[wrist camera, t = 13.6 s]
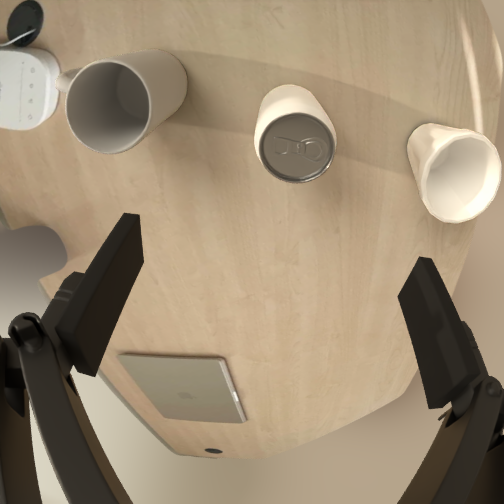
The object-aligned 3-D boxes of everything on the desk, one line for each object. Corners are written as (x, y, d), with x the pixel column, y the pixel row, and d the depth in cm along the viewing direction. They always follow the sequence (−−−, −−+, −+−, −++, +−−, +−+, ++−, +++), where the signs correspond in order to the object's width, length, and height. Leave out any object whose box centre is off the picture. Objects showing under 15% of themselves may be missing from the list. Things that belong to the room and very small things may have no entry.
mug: (200, 63, 29) (169, 75, 20) (172, 131, 34) (136, 169, 25) (105, 33, 26) (46, 41, 18) (85, 99, 31) (29, 128, 23)
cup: (449, 95, 28) (494, 118, 21) (469, 166, 33) (506, 203, 26) (378, 125, 32) (408, 155, 24) (405, 195, 37) (433, 238, 29)
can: (316, 143, 34) (333, 192, 24) (257, 137, 34) (250, 185, 25) (323, 87, 30) (347, 112, 20) (261, 81, 30) (254, 103, 21)
